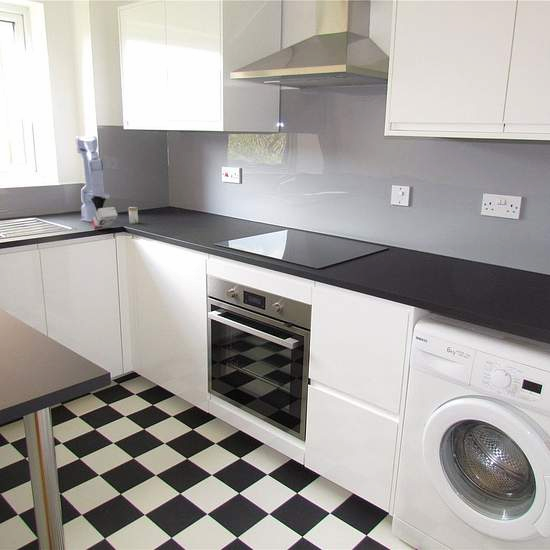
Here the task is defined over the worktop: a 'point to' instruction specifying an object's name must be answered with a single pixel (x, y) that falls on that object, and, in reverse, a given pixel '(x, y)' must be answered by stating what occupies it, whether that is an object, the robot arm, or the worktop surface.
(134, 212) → the spice jar
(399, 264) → the worktop surface
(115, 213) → the ink box
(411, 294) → the worktop surface
